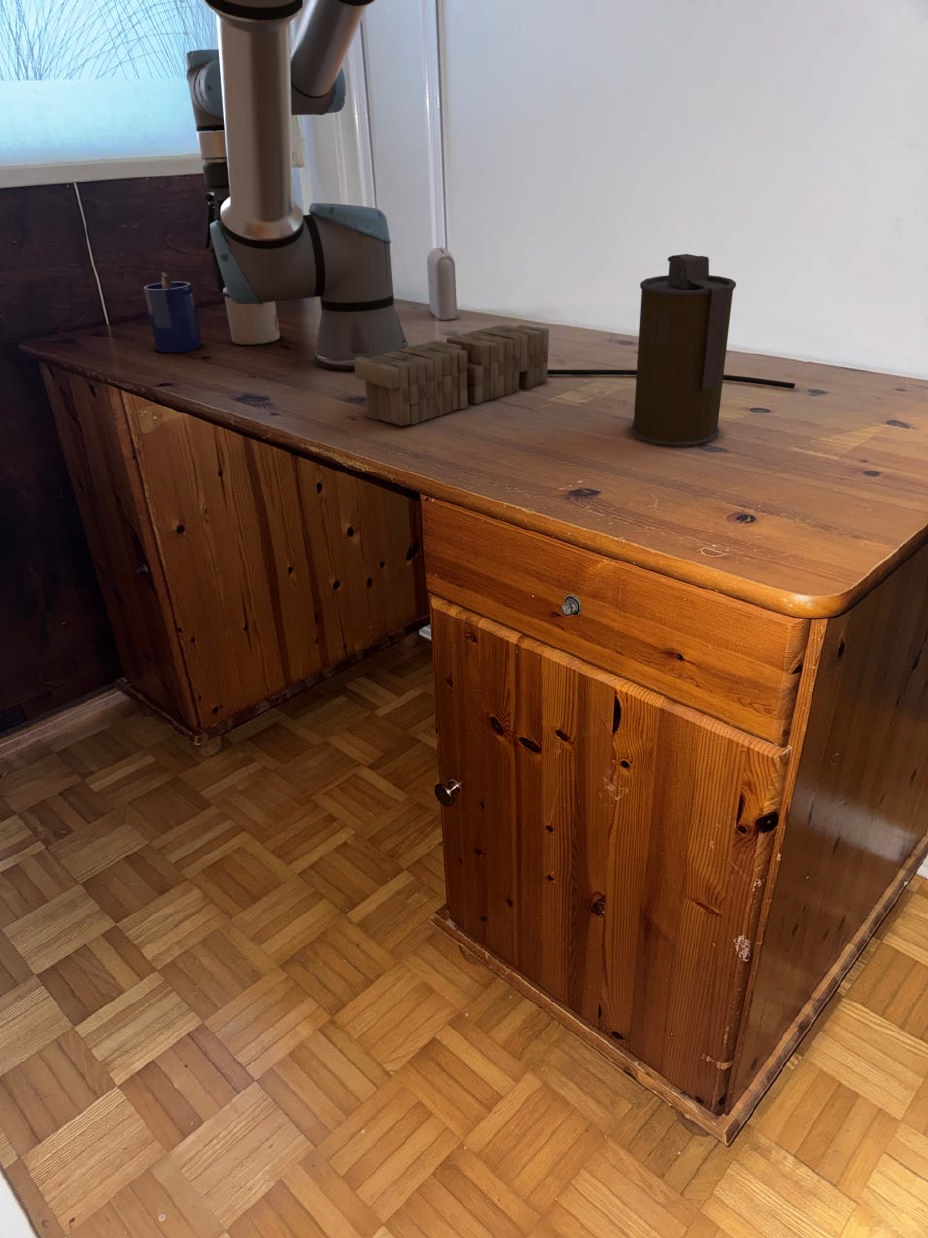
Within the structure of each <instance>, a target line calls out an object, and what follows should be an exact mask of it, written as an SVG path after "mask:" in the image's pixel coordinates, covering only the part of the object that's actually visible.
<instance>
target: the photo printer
mask: <svg viewBox="0 0 928 1238" xmlns="http://www.w3.org/2000/svg"><path fill="white" fill-rule="evenodd" d="M426 267H427V285H428V299H429V310H430V313H431V314H432V315H433V316H434V317H436V318H437V319H439V320H442V321H449V320H455V319H456V318H457V317H458V299H457V279H456V277H457V276H456V262H455V259H454V257H453V254H452V253H451V252H450V251H449V250H448V249H447V248H445V247H443V246H441V247H434V248H433V249H431V250H430V251H429V253H428V255H427V257H426Z"/></svg>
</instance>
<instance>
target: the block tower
mask: <svg viewBox="0 0 928 1238" xmlns="http://www.w3.org/2000/svg"><path fill="white" fill-rule="evenodd" d="M549 339H550V329H549V328H545V327H539V326H532V325H527V324H526V325H525V324H521V325H517V326H514V325H511V324H505V323H503V324H502V323H501V324H498V325H495V326H491V327H485V328H481V329H477V330H474V331H470V332H468V333H463V334H458V335H454V336H451V337H446V342H445V341H441V340H431V341H430V342H425V343H422V344H416V345H410V346H408V347H407V348H405V349H399V350H398V351H395V352H390V353H386V354H382V355H381V356H380V355H379V356H374V357H372V358H365V357H358V358H355V359H354V363H355V371H354V376H355V378H356V379H359V380H362V381H364V384H365V395H366V397H365V398H366V411H367V418H369V419H372V420H376V421H383V422H386V423H390V424H394V425H397V426H401V427H404V426H407V425H411V426H413V425H416V424H419V423H421V422H424V421H427V420H431V419H435V418H437V417H441V416H443V415H447V414H451V412H454V411H458V410H462V409H466V408H468V405H469V404H468V403H471V404H473V405H474V404H475V405H478V404H482V403H483V402H488V401H489V400H493V399H497V398H501V397H504V396H507V395H511V394H512V393H515V392H518V391H520V388H521V389H530V388H533V387H534V386H538V385H543V384H546V383H547V382H548V375H547V370H548V363H549V360H548V359H549Z"/></svg>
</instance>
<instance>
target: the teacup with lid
mask: <svg viewBox="0 0 928 1238" xmlns="http://www.w3.org/2000/svg"><path fill="white" fill-rule="evenodd" d="M222 295H223V296H224V301H225V306H226V314H227V319H228V325H229V330H230V337H231V341H232V342H233V343H234V344H236V345H241V346H258V345H264V344H270V343H274V342H276V341H278V340H279V339H280V337H281V333H280V327H279V319H278V312H277V311H278V310H277V304H276V301H275V302H266V303H262V304H261V305H260V304H238V303H236V302H234V301H233V300H232V299H231V298H230V296H229V294H228V292H227V289H226V287H225V288H224V290H223V293H222Z"/></svg>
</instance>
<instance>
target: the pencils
mask: <svg viewBox="0 0 928 1238" xmlns="http://www.w3.org/2000/svg"><path fill="white" fill-rule="evenodd" d="M171 282H172V281H171V279H170V277H169V275H167V273H165V272H162V273H161V283H162V286H163V289H171V288H172V285H171Z"/></svg>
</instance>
